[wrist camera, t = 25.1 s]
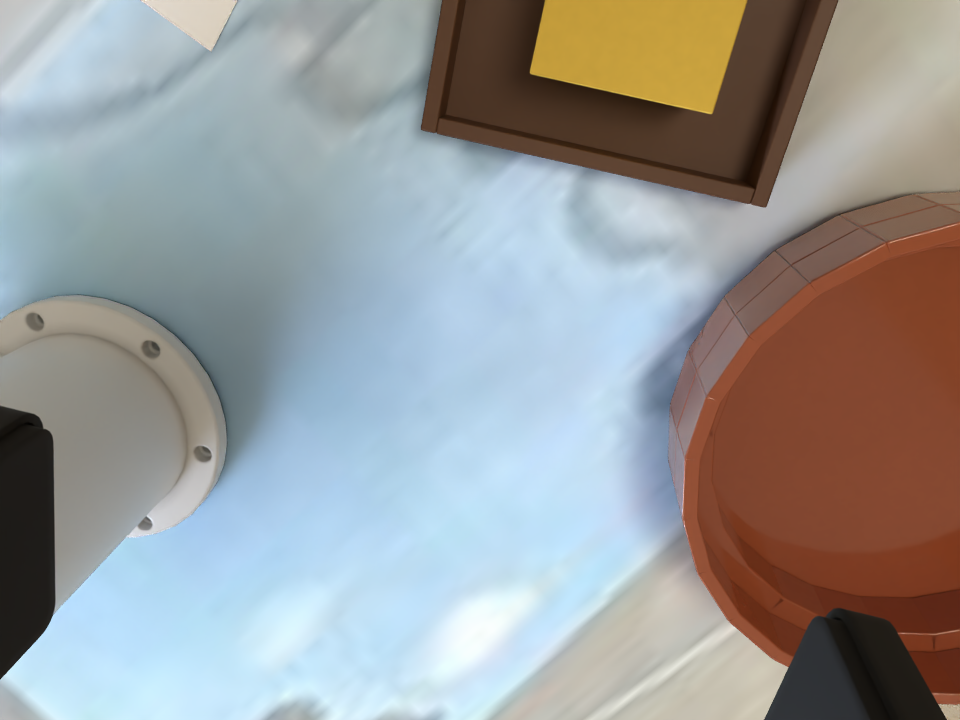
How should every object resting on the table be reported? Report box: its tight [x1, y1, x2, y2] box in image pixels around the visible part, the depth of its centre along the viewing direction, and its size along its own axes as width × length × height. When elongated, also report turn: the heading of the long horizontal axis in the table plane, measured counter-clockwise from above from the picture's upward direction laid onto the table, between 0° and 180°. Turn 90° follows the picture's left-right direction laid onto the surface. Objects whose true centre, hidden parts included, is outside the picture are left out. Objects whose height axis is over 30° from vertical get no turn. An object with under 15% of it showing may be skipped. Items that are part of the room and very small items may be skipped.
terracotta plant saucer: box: [668, 192, 960, 705], centre depth 31 cm, size 20×20×6 cm
